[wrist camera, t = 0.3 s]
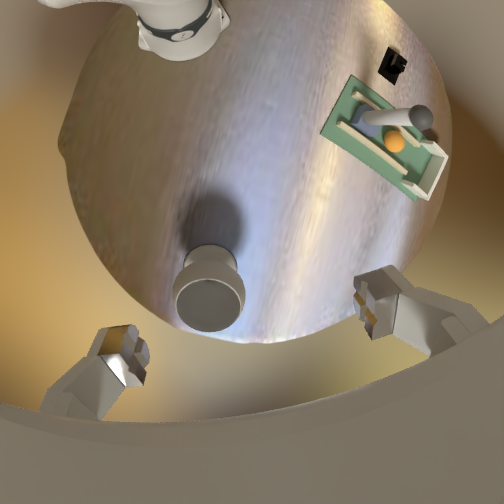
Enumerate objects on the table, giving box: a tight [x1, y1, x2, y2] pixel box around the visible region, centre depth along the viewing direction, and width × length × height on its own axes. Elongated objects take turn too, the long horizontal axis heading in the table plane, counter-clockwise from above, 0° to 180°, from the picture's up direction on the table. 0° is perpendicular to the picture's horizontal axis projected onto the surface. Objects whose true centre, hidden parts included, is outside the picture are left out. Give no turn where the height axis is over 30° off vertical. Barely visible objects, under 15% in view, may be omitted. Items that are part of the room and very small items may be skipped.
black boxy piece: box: [378, 47, 407, 85], centre depth 43 cm, size 12×7×5 cm, turn 156°
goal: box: [336, 92, 448, 200], centre depth 50 cm, size 28×13×5 cm, turn 63°
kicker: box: [350, 105, 433, 137], centre depth 39 cm, size 6×5×22 cm
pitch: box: [320, 76, 432, 202], centre depth 53 cm, size 31×16×1 cm, turn 63°
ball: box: [384, 131, 405, 153], centre depth 50 cm, size 5×5×5 cm
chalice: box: [172, 245, 245, 332], centre depth 54 cm, size 14×14×15 cm
